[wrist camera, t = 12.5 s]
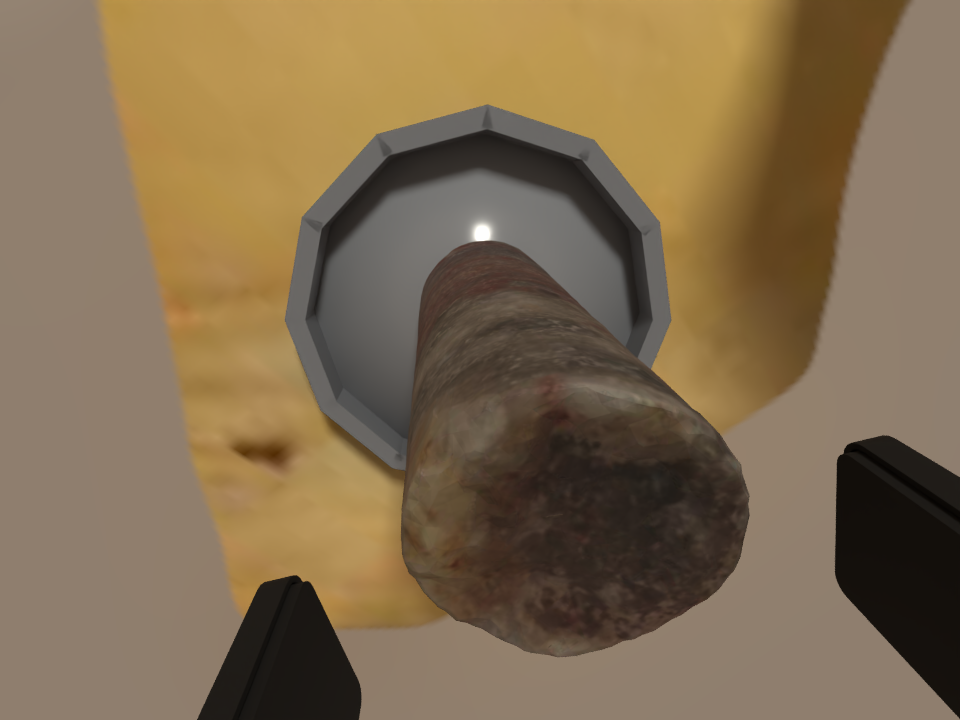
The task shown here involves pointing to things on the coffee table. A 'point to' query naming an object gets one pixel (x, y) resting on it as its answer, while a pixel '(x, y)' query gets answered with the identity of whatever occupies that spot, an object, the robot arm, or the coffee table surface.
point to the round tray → (445, 226)
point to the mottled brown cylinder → (555, 467)
